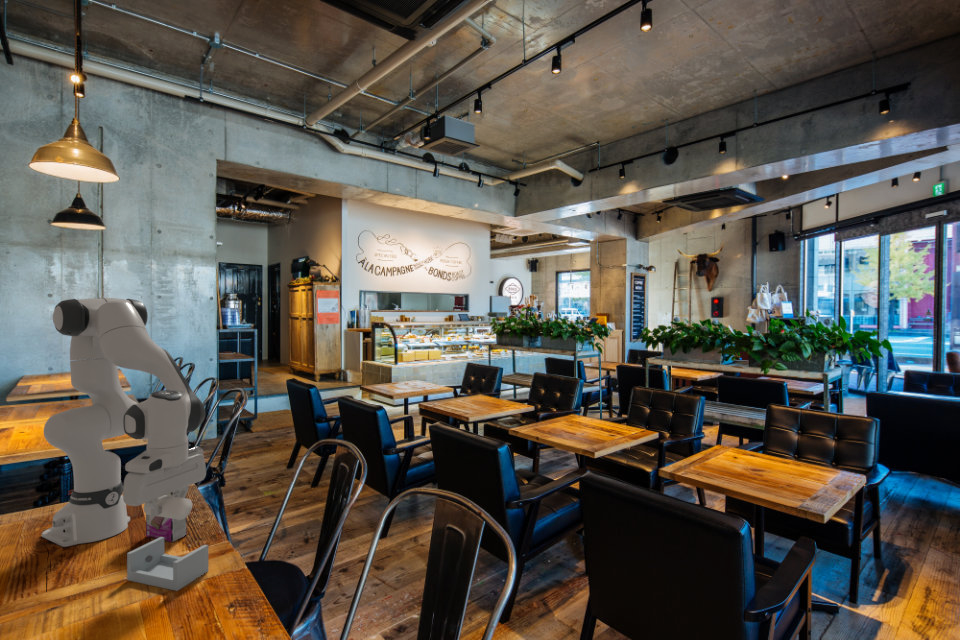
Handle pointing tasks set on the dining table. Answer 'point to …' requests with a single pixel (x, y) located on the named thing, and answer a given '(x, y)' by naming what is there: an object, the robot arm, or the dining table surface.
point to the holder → (165, 566)
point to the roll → (172, 507)
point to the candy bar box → (166, 526)
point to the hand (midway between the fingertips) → (168, 509)
